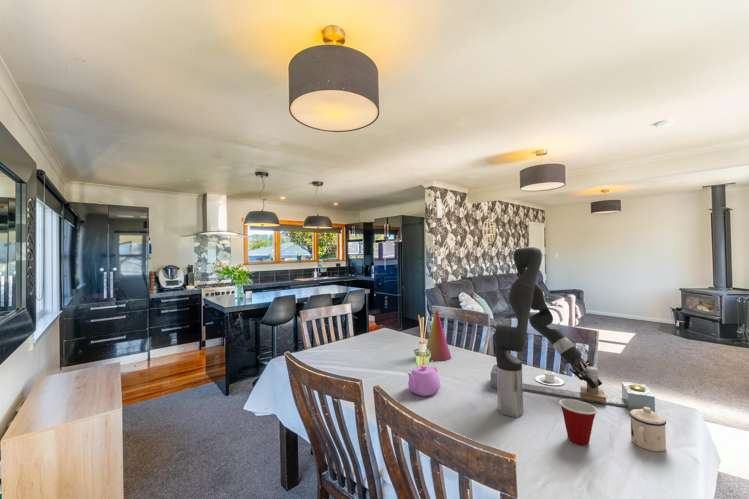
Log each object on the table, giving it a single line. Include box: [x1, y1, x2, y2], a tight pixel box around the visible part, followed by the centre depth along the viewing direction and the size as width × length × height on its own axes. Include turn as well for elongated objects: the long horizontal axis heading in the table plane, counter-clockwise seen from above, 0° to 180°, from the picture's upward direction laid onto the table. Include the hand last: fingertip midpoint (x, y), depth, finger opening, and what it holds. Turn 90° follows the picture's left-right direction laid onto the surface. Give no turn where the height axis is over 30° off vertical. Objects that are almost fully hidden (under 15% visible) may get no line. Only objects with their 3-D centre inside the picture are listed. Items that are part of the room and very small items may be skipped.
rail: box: [490, 364, 656, 413], centre depth 142 cm, size 12×59×8 cm, turn 62°
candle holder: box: [534, 370, 564, 386], centre depth 157 cm, size 12×12×4 cm
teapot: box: [406, 364, 441, 397], centre depth 148 cm, size 20×13×12 cm, turn 131°
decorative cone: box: [426, 306, 452, 362], centre depth 196 cm, size 16×16×30 cm
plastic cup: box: [558, 398, 598, 447], centre depth 108 cm, size 11×11×12 cm
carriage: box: [580, 366, 607, 402], centre depth 137 cm, size 9×8×12 cm
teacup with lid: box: [629, 407, 667, 452], centre depth 105 cm, size 12×9×12 cm
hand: (597, 386), depth 136 cm, fingers closed on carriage, 4 cm apart
